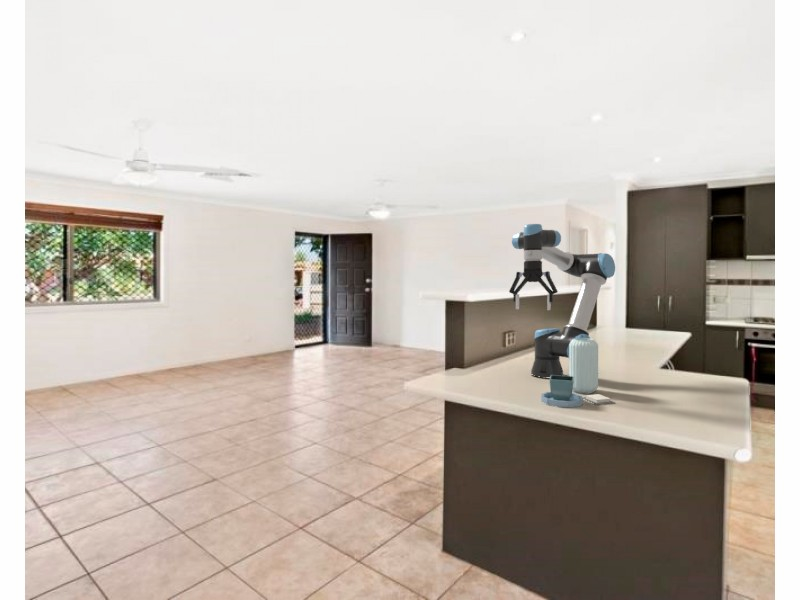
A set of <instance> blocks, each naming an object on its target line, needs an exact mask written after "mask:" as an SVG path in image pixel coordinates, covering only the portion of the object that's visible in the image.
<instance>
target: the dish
mask: <svg viewBox="0 0 800 600" xmlns="http://www.w3.org/2000/svg"><path fill="white" fill-rule="evenodd" d="M542 402H544V403H546V404H545V405H547V404H548V405H547V406H550V405H553V406H552V407H555V406H557V407H556V408H578V407H580V406H583V405H584V400H583V396H582V395H581V394H579V393H574V392H572V395H571V398H570V400H569V401H558V400H554V399H553V397H552V395H551V391H546V392H543V393H541V403H542ZM544 403H543V404H544ZM582 404H583V405H582Z"/></svg>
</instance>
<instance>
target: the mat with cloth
mask: <svg viewBox="0 0 800 600" xmlns="http://www.w3.org/2000/svg"><path fill="white" fill-rule="evenodd" d="M582 397H583V396H582ZM583 399H585V400H584V401H586V400H587V401H586V402H588V401H589V403H591V402H592V403H591V404H593V403H594V404H593V405H596V404H597V405H596V406H600V404H604V405H612V403H614V404H616V401H613V400H611V398H610V397H608V396H604V395H602V394H600V393H598V394H585V396H584V397H583ZM610 403H611V404H610Z"/></svg>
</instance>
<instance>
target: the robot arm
mask: <svg viewBox="0 0 800 600" xmlns="http://www.w3.org/2000/svg"><path fill="white" fill-rule="evenodd" d="M561 241H562V236H561V233H560V232H559V231H558V230H555V229H543V225H541V224H540V223H529V224H524V227H523V231H521V232H518V233H514V234H513V235H512V238H511V245H512V247H514V249H515V250H523V260H524V262H523V272H521V271H516V275H515V278H514V280H513V283H512V285H511V286H510V289H509V290H508V292H509V294H512V295H513V302H515V310H520V294H519V293H520V291H521V290H522V289H523V287H524V286H525V285H526V284H527V283H537V282H538V283H539V284H540V285H541V287H542V288H543V289H544V290H545V291H546V292H547V293H548V294H547V295H546V296H547V298H546V302H547V303H546V306H547V307H546V308H547V309H546V310H547V311H552V310H551V308H552V307H551V303H553V302H554V295H555V294H557V293H558V289H557V287H556V285H555V283H554V281H553V279H552V278H551V272H550V271H548V270H547V271H543V261H542V259H543V260H544V261H547V262H549V263H551V264H552V265H555V266H556V267H557V269H558V270H560V271H562V272H564V273H566V274H568V275H571V276H573V277H575V278H576V277H577V278H581V280H582V283H581V285H580V288H579V291H578V294H577V298H576V300H575V303H574V306H573V310H572V311H571V315H570V318H569V321H568V324H566V325H564V326H563V328H562V331H561V329H560V328H558V327H557V328H556V327H555V328H542V329H537V330H535V332H534V338H533V339H534V361H533V363H532V367H531V370H530V375H531V374H533V375H535V376H540V377H550V376H551V375H560V376H564V370H563V366H562V364H561V360H560V359H561V358H560V357H562V358H568V359H569V344H570V342H571V341H572V340H574V339H575V338H589V339H591V337H590V336H589V335H590V333H589V331H588V327H589V324H590V321H591V319H592V315H593V312H594V309H595V306H596V303H597V300H598V299H597V298H598V296H599V293H600V290H601V287H602V286H603V285H605V284H606V283H607V279H610V278H612V277H614V275H615V272H616V264H615V259H614V258H613V256H612V255H611V254H609V253H602V252H599V253H583V254H577V253H575V254H574V253H571V252H567V251H563V250H561V249H560V248H557V246H559V245H560V244H561ZM543 276H544V277H545V278H546V281H547V282H548V284H549V285H548V284H547V283H546V282H545V281H544V280H543V278H542V277H543ZM522 277H523V280H522V281H521V282H520V279H521V278H522ZM519 282H520V284H519V285H518V283H519ZM549 286H550V287H549Z"/></svg>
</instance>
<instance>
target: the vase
mask: <svg viewBox="0 0 800 600" xmlns="http://www.w3.org/2000/svg"><path fill="white" fill-rule="evenodd" d="M568 376H573V377H574V382H573V392H575V391H576V393H578V392H580V394H592V393H594V392H595V391H597V389H598V388H599V344H598V342H597V341H596V340H594V339H593V338H590V339H589V338H575V339H574V340H572V341H571V342H570V344H569V358H568Z"/></svg>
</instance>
